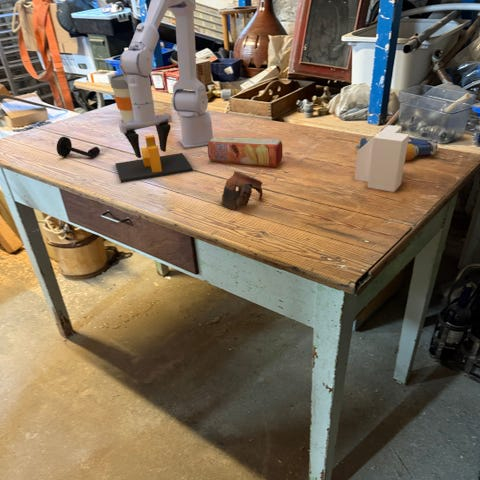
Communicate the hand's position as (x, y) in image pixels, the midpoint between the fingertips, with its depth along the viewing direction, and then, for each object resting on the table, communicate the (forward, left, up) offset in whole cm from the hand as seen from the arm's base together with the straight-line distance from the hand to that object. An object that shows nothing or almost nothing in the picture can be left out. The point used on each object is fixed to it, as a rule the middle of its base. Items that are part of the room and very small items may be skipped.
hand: (151, 153), depth 132 cm
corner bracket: (-52, +35, -4) cm, 63 cm away
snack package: (-25, +7, -4) cm, 27 cm away
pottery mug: (-16, +34, -4) cm, 37 cm away
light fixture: (+18, -22, -4) cm, 29 cm away
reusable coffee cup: (-2, -52, -4) cm, 53 cm away
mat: (0, 0, -4) cm, 4 cm away
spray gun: (-66, +20, -4) cm, 69 cm away
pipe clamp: (0, 0, -3) cm, 4 cm away
